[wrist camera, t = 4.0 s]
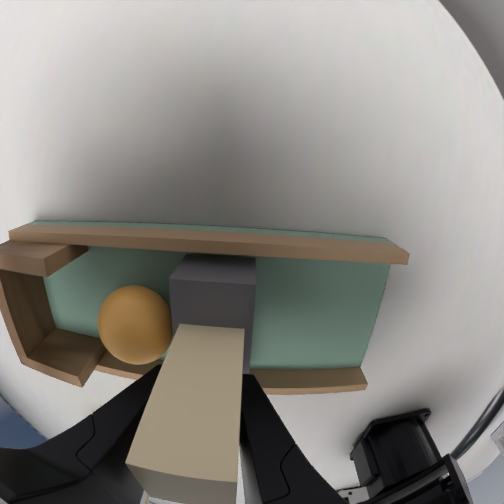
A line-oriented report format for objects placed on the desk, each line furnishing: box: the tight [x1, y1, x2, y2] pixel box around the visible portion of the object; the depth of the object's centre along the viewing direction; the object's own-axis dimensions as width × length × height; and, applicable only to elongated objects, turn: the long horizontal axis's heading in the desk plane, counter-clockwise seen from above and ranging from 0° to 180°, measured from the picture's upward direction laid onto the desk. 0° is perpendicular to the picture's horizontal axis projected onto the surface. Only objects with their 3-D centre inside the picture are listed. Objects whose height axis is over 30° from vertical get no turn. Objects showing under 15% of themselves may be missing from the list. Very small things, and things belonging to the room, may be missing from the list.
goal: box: [0, 240, 107, 387], centre depth 11 cm, size 5×7×4 cm
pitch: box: [8, 221, 409, 395], centre depth 13 cm, size 20×8×2 cm, turn 86°
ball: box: [97, 285, 174, 364], centre depth 11 cm, size 4×4×4 cm
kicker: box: [125, 254, 256, 504], centre depth 8 cm, size 3×6×9 cm, turn 177°
